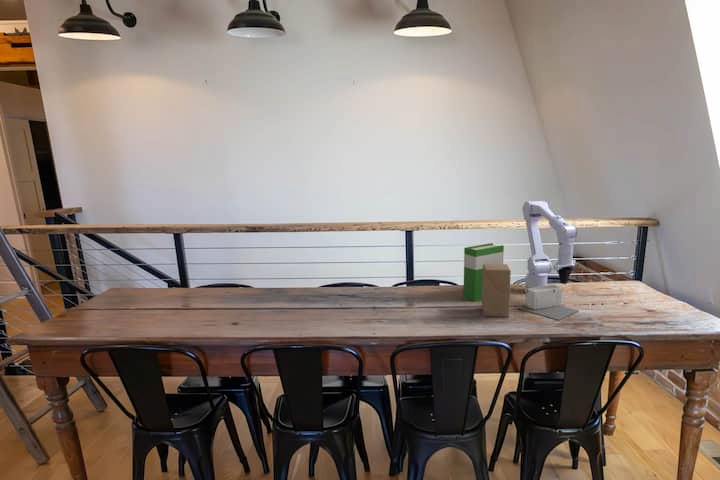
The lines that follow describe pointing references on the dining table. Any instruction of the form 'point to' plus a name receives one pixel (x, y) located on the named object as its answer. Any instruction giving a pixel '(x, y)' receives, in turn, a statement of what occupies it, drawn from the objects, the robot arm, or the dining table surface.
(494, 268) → the wooden block
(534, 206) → the robot arm
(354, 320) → the dining table surface
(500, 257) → the hardback book
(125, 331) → the dining table surface
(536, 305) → the skincare box
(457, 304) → the dining table surface
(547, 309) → the mat
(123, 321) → the dining table surface
